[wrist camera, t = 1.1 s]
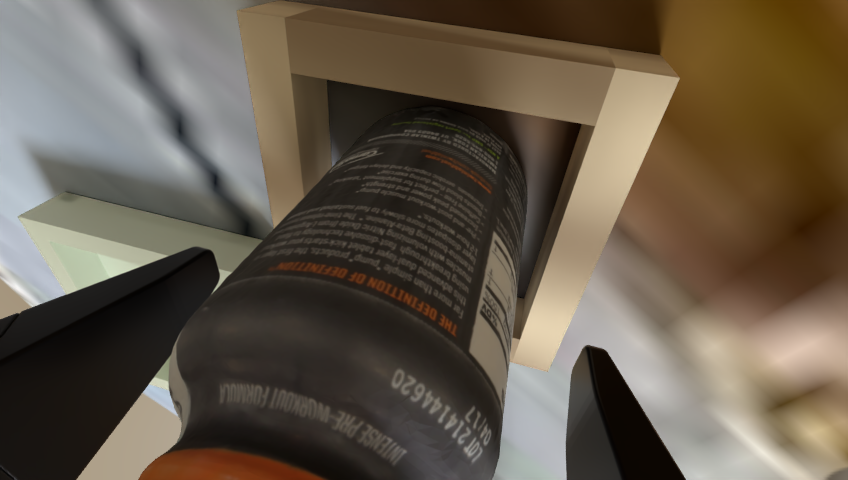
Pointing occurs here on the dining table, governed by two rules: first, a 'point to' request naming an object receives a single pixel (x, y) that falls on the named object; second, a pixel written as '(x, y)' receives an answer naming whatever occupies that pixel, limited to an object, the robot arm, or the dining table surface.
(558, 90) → the socket collar
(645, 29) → the dining table surface
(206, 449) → the pill bottle
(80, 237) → the tray
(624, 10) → the dining table surface
